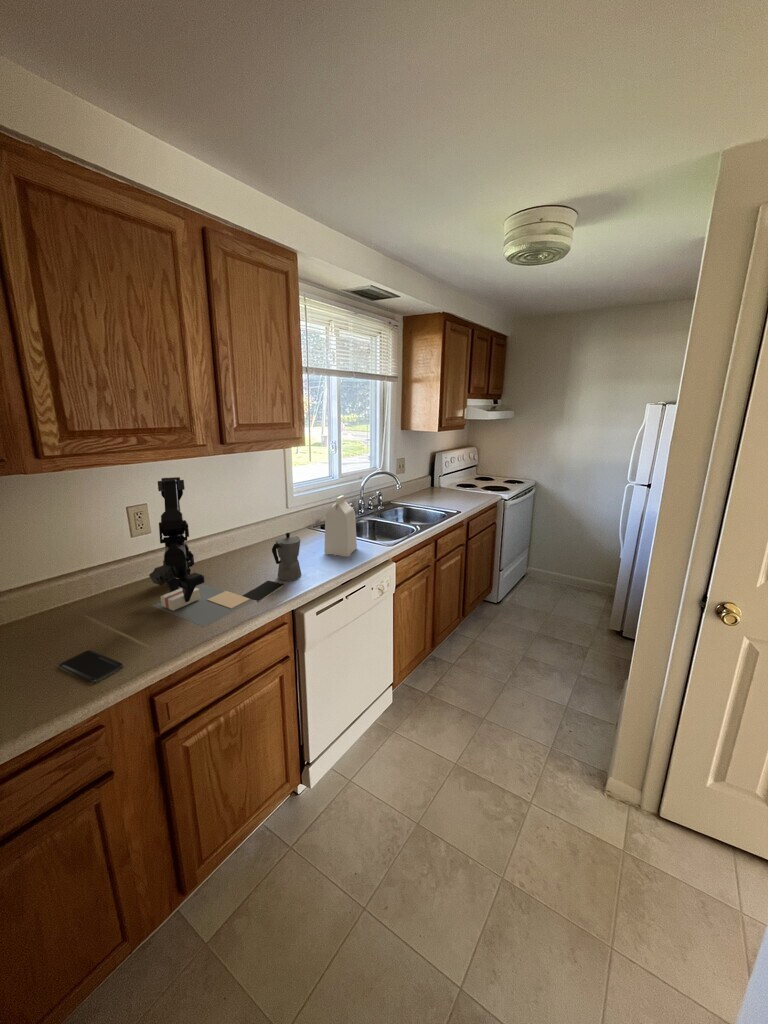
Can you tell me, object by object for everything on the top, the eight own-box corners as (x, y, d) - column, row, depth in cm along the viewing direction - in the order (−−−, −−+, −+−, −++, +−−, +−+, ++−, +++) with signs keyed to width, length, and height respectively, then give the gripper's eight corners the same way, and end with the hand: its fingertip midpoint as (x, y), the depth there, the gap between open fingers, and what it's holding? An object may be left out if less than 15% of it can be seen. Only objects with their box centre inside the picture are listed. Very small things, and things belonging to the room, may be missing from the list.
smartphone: (239, 596, 143) (267, 580, 157) (240, 599, 144) (267, 583, 157) (258, 601, 140) (284, 583, 154) (259, 604, 141) (285, 586, 154)
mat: (151, 607, 136) (151, 604, 136) (204, 585, 153) (203, 583, 153) (204, 628, 124) (203, 626, 123) (254, 602, 140) (254, 600, 140)
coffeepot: (291, 568, 170) (289, 526, 166) (309, 573, 166) (308, 530, 162) (264, 582, 157) (262, 537, 152) (284, 587, 153) (281, 541, 148)
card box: (173, 610, 132) (172, 600, 131) (161, 606, 135) (160, 596, 134) (200, 598, 140) (199, 589, 139) (189, 594, 143) (188, 585, 142)
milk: (347, 556, 185) (347, 500, 178) (324, 554, 188) (323, 498, 181) (357, 548, 196) (357, 495, 190) (334, 545, 199) (333, 493, 193)
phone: (92, 682, 98) (56, 664, 104) (93, 686, 98) (57, 668, 104) (125, 664, 105) (89, 649, 111) (125, 668, 105) (90, 652, 111)
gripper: (134, 557, 131) (140, 602, 135) (171, 569, 122) (176, 616, 126) (167, 547, 140) (172, 589, 144) (203, 557, 131) (207, 602, 135)
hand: (181, 599), depth 137 cm, fingers closed on card box, 6 cm apart
